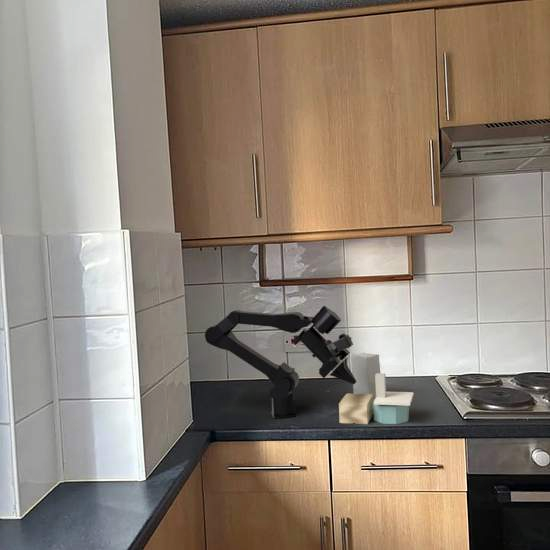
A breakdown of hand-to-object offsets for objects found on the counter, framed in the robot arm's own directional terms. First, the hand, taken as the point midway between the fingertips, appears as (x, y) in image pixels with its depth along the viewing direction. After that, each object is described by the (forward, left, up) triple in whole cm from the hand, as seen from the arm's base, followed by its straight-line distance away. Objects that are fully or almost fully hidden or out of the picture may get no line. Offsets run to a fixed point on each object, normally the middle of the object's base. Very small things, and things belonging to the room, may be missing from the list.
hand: (355, 383), depth 174 cm
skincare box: (+10, +20, -11) cm, 24 cm away
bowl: (+9, -5, -10) cm, 14 cm away
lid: (+10, -5, -5) cm, 12 cm away
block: (0, 0, -10) cm, 10 cm away
